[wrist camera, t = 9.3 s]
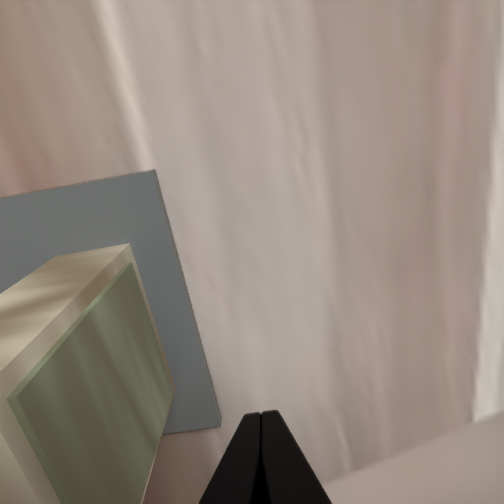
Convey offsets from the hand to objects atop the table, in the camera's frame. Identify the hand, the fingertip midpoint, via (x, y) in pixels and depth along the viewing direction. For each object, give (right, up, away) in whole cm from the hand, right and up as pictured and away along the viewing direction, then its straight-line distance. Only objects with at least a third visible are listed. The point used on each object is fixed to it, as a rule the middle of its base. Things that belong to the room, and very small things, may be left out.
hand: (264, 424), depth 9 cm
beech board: (-6, +1, +6) cm, 8 cm away
